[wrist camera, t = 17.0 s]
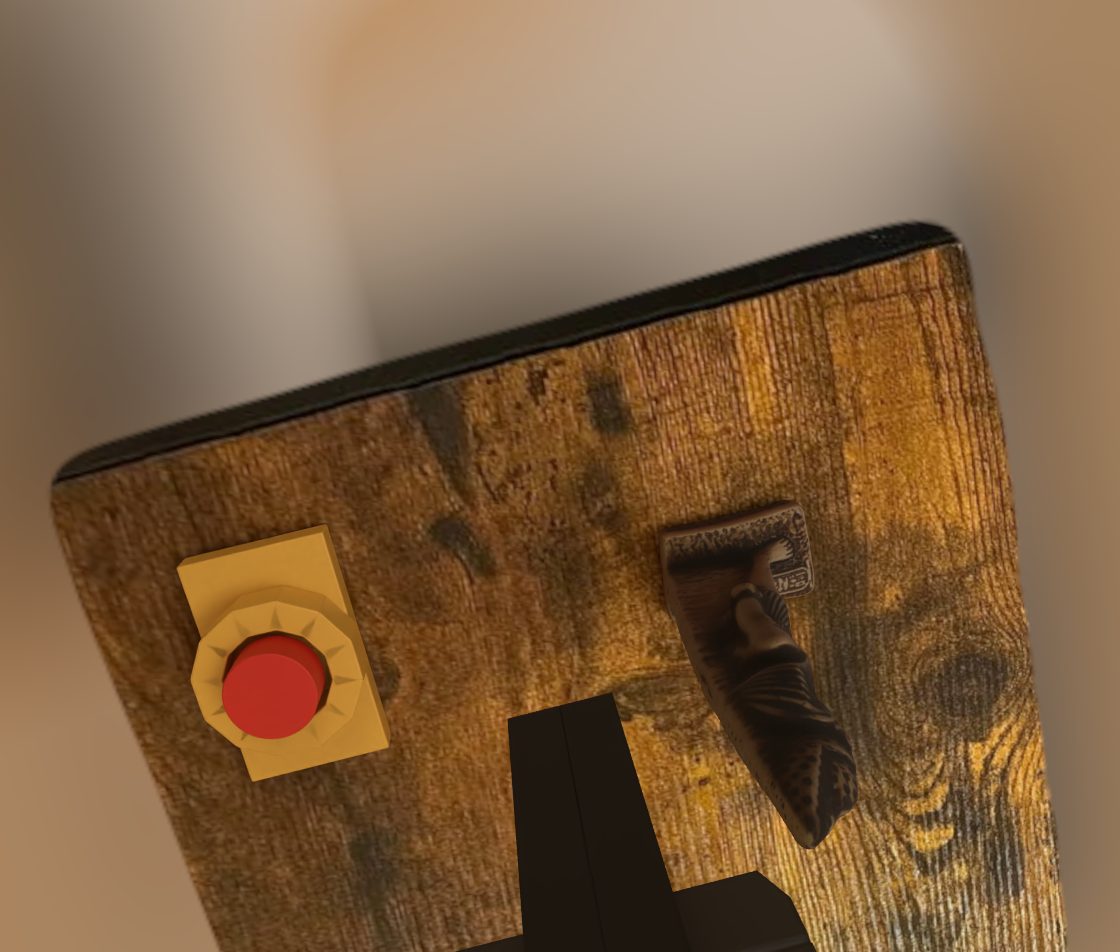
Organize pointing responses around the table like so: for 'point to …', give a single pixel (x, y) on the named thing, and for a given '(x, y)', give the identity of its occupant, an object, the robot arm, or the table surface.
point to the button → (273, 687)
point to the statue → (760, 657)
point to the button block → (294, 611)
